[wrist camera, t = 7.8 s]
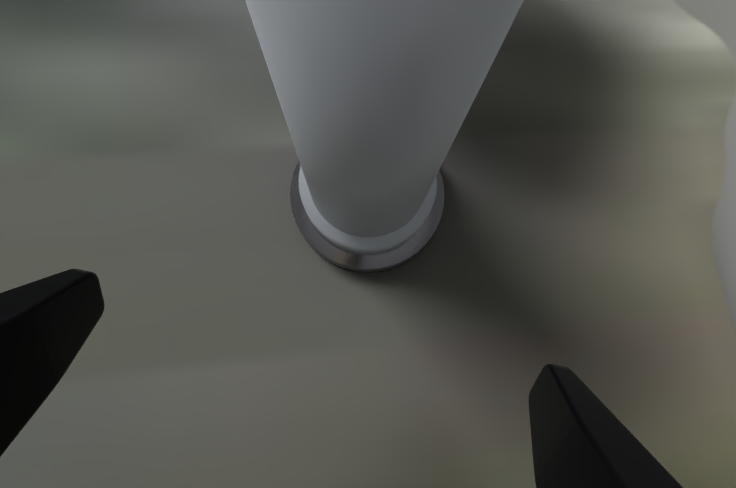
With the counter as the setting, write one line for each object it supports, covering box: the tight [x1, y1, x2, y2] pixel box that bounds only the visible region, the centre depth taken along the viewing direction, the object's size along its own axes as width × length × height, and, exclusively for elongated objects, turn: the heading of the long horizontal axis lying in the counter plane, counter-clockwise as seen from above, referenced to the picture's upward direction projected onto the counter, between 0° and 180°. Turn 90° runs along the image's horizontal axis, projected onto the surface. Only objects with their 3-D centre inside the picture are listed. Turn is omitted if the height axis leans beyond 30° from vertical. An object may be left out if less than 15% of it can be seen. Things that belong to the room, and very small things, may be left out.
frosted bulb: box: [245, 0, 524, 255], centre depth 11 cm, size 5×5×13 cm
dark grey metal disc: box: [290, 162, 444, 272], centre depth 18 cm, size 7×7×1 cm
